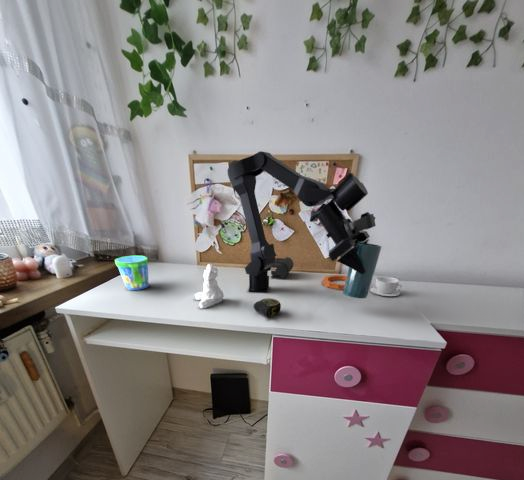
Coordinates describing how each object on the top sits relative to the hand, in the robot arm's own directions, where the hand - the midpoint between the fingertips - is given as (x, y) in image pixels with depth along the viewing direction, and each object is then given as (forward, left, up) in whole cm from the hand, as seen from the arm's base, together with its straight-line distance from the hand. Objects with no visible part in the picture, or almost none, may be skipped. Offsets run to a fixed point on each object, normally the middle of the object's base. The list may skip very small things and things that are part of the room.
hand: (367, 270), depth 76 cm
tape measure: (-27, -6, -13) cm, 31 cm away
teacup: (+13, +18, -13) cm, 26 cm away
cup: (-2, 0, -7) cm, 8 cm away
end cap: (-24, +34, -13) cm, 44 cm away
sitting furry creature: (-46, +2, -13) cm, 48 cm away
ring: (-1, +26, -12) cm, 29 cm away
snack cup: (-76, +13, -13) cm, 79 cm away
